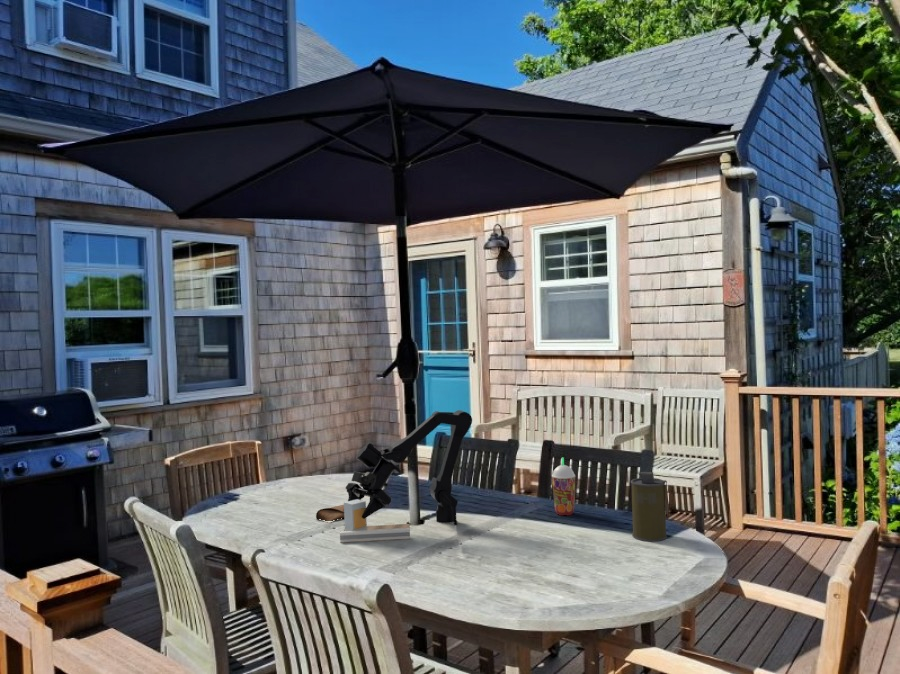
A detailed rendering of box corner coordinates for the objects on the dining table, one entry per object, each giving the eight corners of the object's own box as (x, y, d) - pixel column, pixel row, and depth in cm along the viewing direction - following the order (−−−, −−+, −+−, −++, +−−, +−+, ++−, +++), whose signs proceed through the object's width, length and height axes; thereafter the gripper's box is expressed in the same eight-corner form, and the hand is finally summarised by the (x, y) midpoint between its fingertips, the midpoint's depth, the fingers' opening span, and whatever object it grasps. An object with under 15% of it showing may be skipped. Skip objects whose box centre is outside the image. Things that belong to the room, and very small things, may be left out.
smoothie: (550, 515, 255) (548, 459, 255) (556, 509, 263) (554, 454, 263) (573, 517, 252) (571, 460, 252) (578, 511, 260) (576, 455, 259)
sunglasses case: (328, 523, 256) (322, 505, 259) (319, 530, 261) (314, 512, 263) (369, 513, 269) (363, 496, 271) (360, 519, 273) (354, 503, 276)
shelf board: (409, 526, 248) (409, 523, 248) (410, 542, 230) (409, 539, 230) (345, 530, 247) (344, 527, 247) (340, 546, 229) (340, 543, 229)
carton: (358, 532, 240) (357, 499, 240) (367, 534, 237) (366, 501, 237) (345, 536, 236) (343, 502, 236) (353, 538, 233) (352, 504, 233)
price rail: (409, 537, 233) (409, 527, 232) (409, 538, 231) (409, 529, 231) (340, 540, 231) (340, 531, 231) (340, 542, 230) (339, 533, 229)
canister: (630, 540, 224) (628, 475, 224) (634, 530, 234) (632, 468, 233) (666, 542, 220) (664, 477, 220) (669, 533, 230) (667, 470, 229)
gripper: (349, 458, 247) (322, 497, 239) (383, 465, 233) (356, 506, 226) (368, 478, 252) (343, 516, 245) (402, 485, 239) (377, 525, 231)
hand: (354, 515), depth 236 cm, fingers open, 9 cm apart
